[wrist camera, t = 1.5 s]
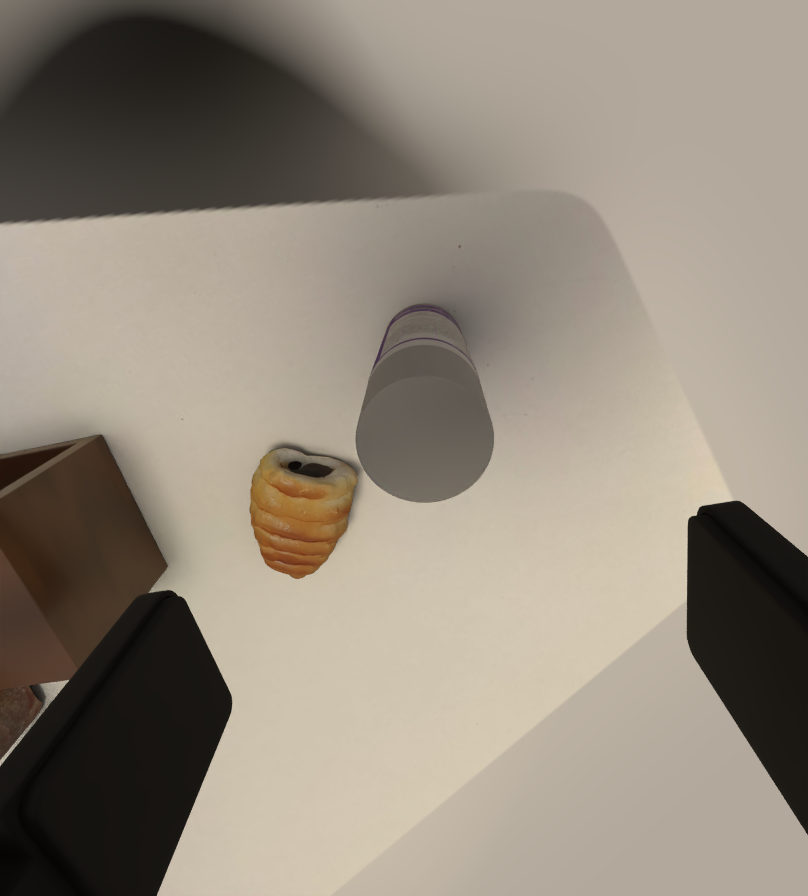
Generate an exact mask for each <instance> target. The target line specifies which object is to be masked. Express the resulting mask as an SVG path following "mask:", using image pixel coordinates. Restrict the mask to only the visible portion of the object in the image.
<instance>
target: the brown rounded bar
mask: <svg viewBox="0 0 808 896" xmlns="http://www.w3.org/2000/svg"><path fill="white" fill-rule="evenodd" d="M41 707H42V702H41V701H39V700H37V697H36V696H35V695H34V694H33V692H32V690H31V688H30V687H29V685H28V686H21V687H14V688H7V689H0V760H1V758H2V757H3V756H4V755H5V754H6V753H7V751H8V750H9V749H10V748H11V746H12V745H13V744H14V743H15V742H16V740H17V739H18V738H19V737H20V735H21V734H22V733H23V732H24V731H25V729H26V728H27V727H28V726H29V724H30V723H31V722H32V721H33V720H34V718H35V717H36V716H37V714H38V713H39V712H40V710H41Z"/></svg>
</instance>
